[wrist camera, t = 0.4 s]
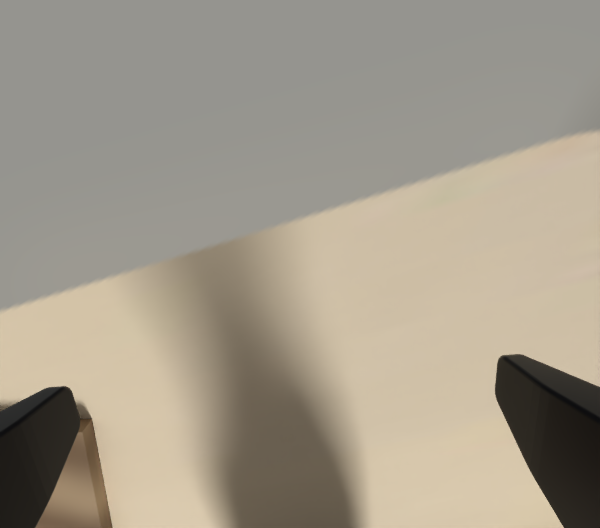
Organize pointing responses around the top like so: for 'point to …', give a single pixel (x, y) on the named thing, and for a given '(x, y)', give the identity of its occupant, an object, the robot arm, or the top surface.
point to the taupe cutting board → (79, 488)
